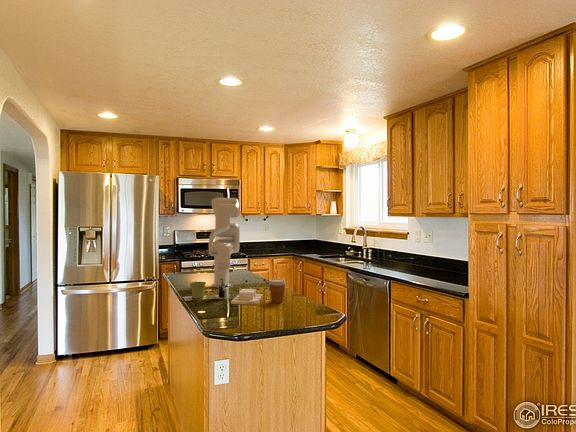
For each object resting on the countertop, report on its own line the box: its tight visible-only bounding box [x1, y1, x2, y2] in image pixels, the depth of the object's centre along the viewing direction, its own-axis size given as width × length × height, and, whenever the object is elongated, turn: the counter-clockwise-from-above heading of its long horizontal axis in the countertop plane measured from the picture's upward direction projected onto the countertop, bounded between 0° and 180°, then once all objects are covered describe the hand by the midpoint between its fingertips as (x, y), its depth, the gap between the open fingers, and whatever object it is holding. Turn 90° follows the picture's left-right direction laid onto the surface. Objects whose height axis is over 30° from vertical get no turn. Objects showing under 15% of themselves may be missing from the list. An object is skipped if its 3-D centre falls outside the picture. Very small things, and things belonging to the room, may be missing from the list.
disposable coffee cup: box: [268, 278, 287, 304], centre depth 227 cm, size 10×10×12 cm
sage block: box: [217, 287, 230, 300], centre depth 235 cm, size 5×5×6 cm
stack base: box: [230, 288, 264, 306], centre depth 230 cm, size 20×14×6 cm
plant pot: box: [189, 281, 207, 299], centre depth 236 cm, size 9×9×9 cm
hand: (223, 295), depth 235 cm, fingers open, 7 cm apart
